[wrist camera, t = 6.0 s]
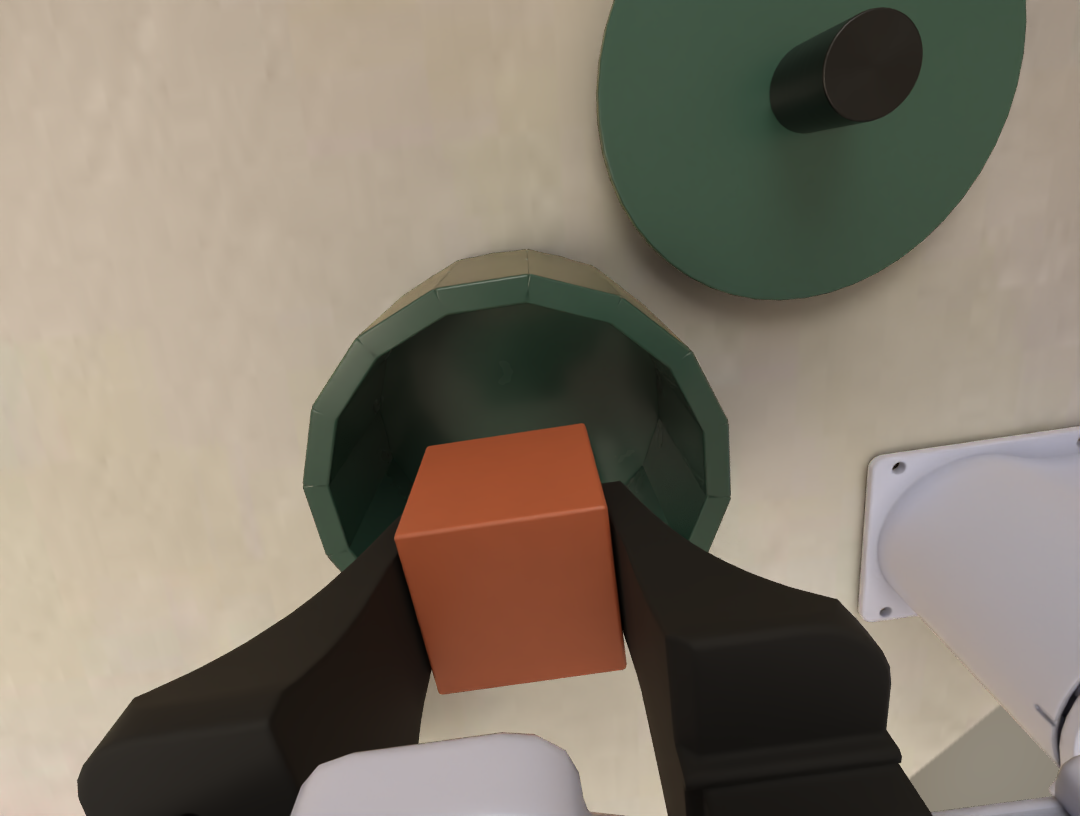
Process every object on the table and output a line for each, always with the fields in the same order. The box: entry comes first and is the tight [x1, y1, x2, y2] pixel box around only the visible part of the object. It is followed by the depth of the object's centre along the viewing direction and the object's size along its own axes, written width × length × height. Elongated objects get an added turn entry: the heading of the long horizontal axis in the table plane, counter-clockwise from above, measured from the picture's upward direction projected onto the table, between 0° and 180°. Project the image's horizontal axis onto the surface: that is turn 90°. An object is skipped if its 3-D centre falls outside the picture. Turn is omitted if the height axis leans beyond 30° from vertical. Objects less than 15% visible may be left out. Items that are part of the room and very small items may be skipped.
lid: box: [596, 0, 1026, 300], centre depth 16 cm, size 12×12×4 cm
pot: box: [303, 249, 731, 572], centre depth 18 cm, size 11×11×6 cm
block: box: [394, 423, 627, 695], centre depth 13 cm, size 4×4×4 cm
